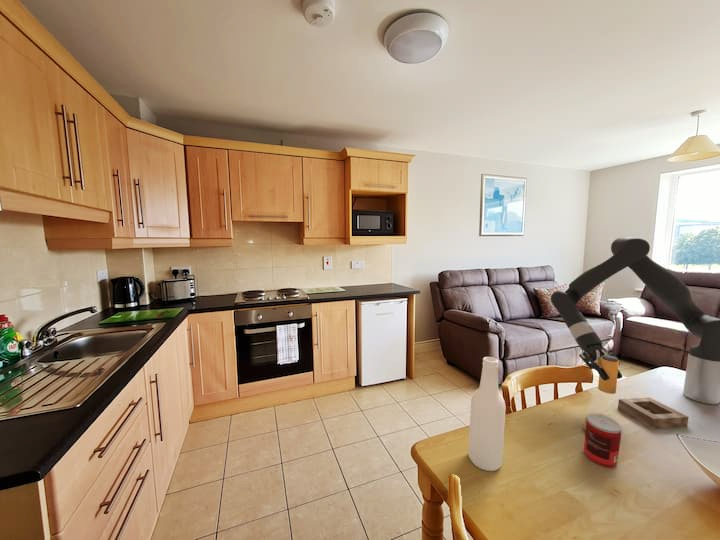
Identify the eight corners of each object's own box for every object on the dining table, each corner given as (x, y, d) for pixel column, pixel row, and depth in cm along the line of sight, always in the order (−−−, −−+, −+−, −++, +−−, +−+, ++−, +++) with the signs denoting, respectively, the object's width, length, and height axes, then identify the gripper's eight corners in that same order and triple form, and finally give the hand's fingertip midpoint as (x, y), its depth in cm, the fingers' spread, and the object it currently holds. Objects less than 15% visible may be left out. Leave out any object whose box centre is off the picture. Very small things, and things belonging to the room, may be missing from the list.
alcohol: (489, 477, 77) (495, 369, 73) (461, 456, 84) (466, 357, 81) (508, 464, 81) (515, 361, 78) (480, 445, 89) (486, 350, 85)
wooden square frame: (648, 406, 110) (649, 397, 110) (687, 426, 98) (688, 416, 98) (617, 407, 109) (618, 399, 108) (652, 428, 97) (654, 419, 96)
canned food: (609, 451, 86) (613, 416, 85) (623, 471, 79) (628, 433, 78) (578, 445, 89) (582, 411, 88) (589, 464, 81) (593, 427, 80)
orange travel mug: (606, 386, 110) (609, 354, 109) (619, 393, 105) (622, 359, 104) (594, 387, 110) (597, 354, 108) (606, 394, 105) (610, 360, 103)
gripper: (576, 332, 111) (605, 377, 101) (607, 330, 114) (638, 373, 103) (563, 341, 117) (589, 384, 107) (592, 338, 120) (621, 380, 109)
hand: (613, 378), depth 105 cm, fingers closed on orange travel mug, 5 cm apart
